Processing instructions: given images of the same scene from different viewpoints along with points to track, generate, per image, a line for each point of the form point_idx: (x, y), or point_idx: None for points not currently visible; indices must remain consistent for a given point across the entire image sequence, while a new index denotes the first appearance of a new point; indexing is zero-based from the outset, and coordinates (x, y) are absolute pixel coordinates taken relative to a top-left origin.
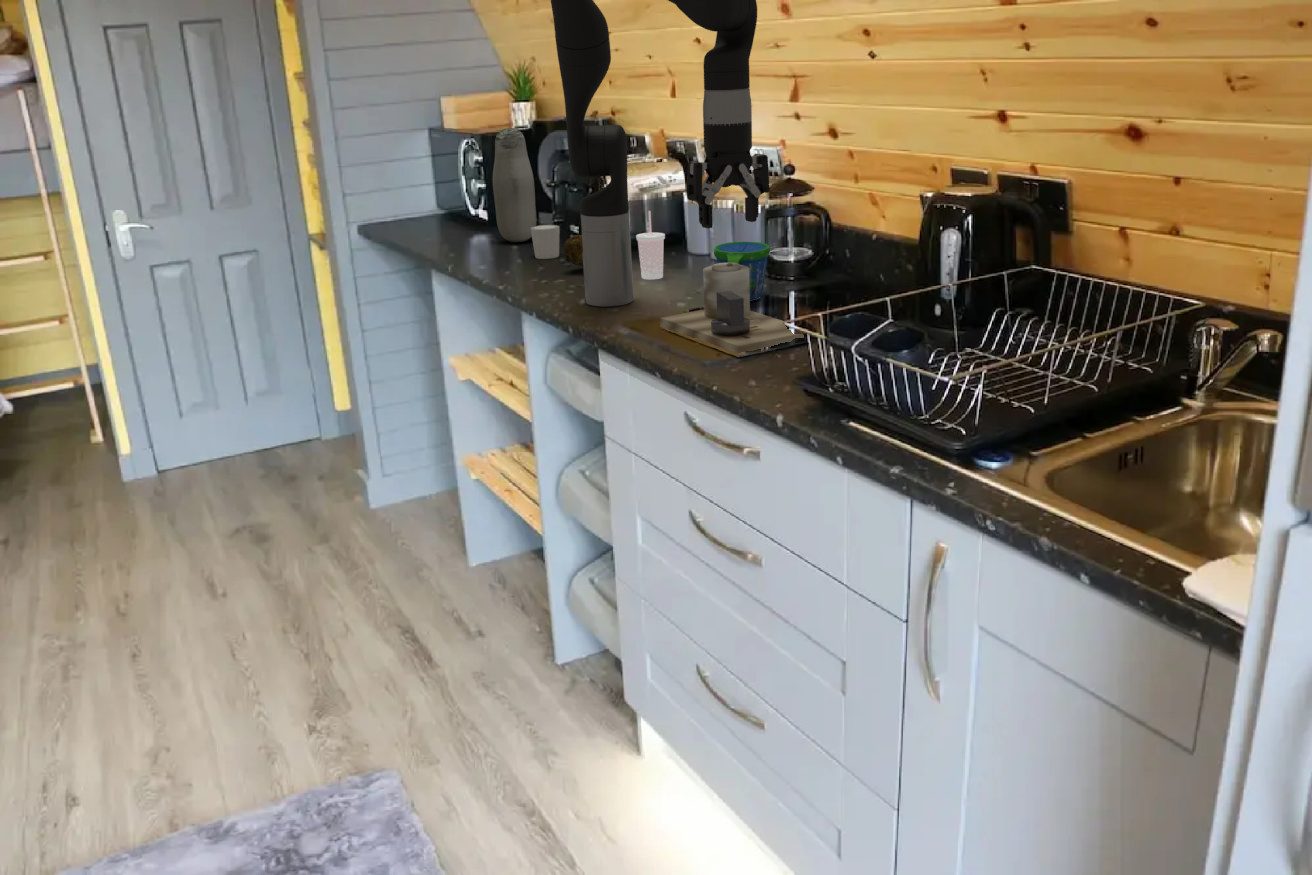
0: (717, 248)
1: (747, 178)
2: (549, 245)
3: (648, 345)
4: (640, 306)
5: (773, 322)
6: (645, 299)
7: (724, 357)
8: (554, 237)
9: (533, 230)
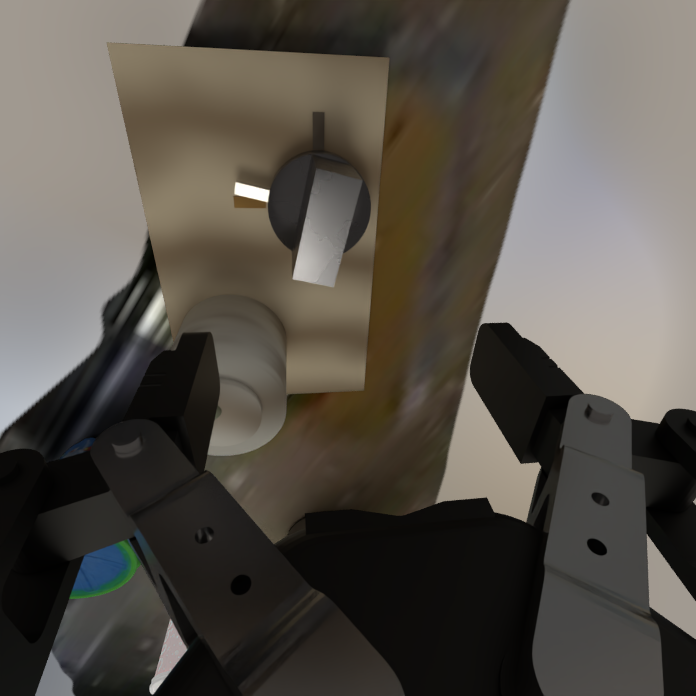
0: (125, 573)
1: (237, 555)
2: None
3: (450, 296)
4: (301, 498)
5: (174, 208)
6: (270, 525)
7: (400, 99)
8: None
9: None
